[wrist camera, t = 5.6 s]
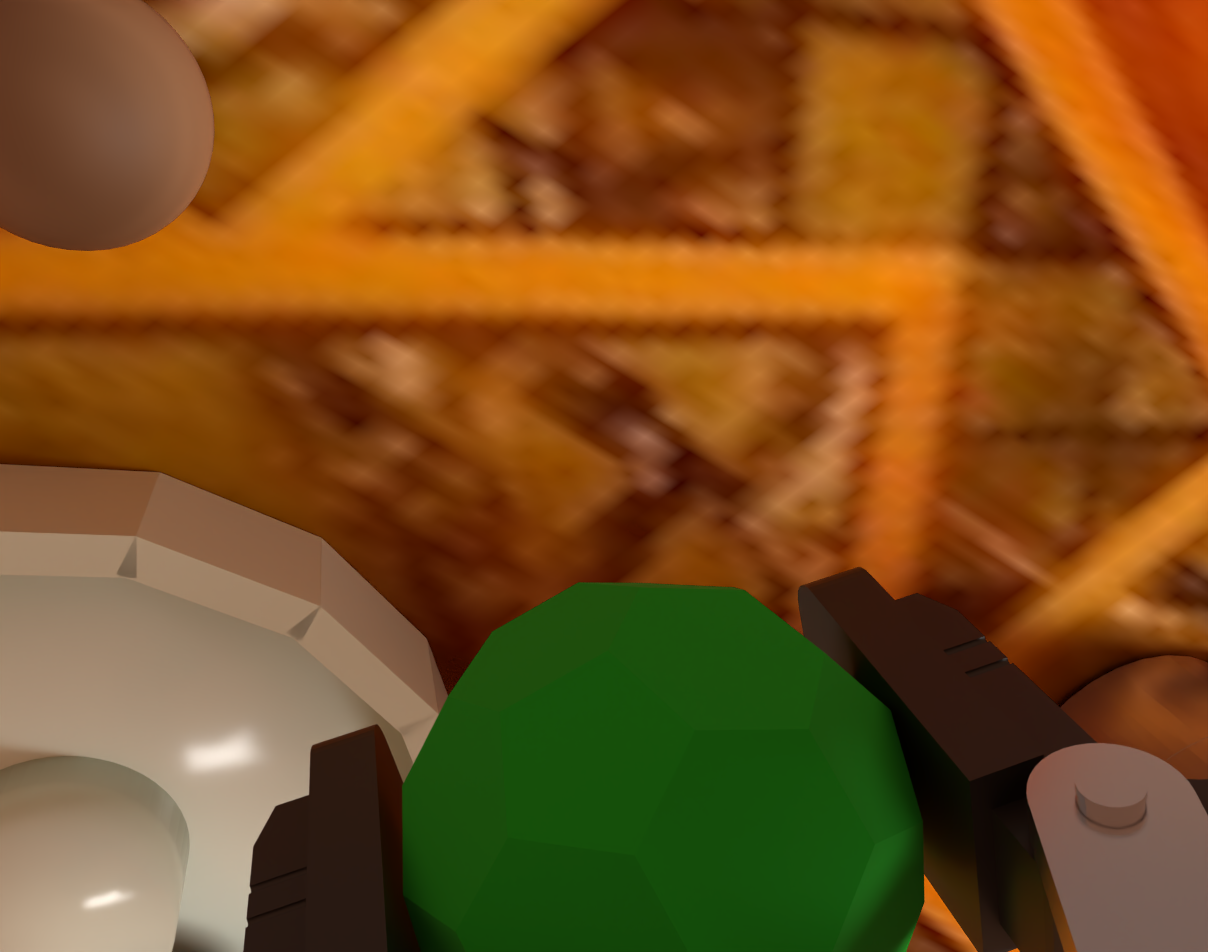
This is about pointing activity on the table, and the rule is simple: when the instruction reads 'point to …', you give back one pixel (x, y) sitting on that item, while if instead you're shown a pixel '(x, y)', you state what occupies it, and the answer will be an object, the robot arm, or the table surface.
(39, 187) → the walnut bead
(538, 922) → the polyhedron
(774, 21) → the table surface
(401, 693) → the tray
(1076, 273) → the table surface
